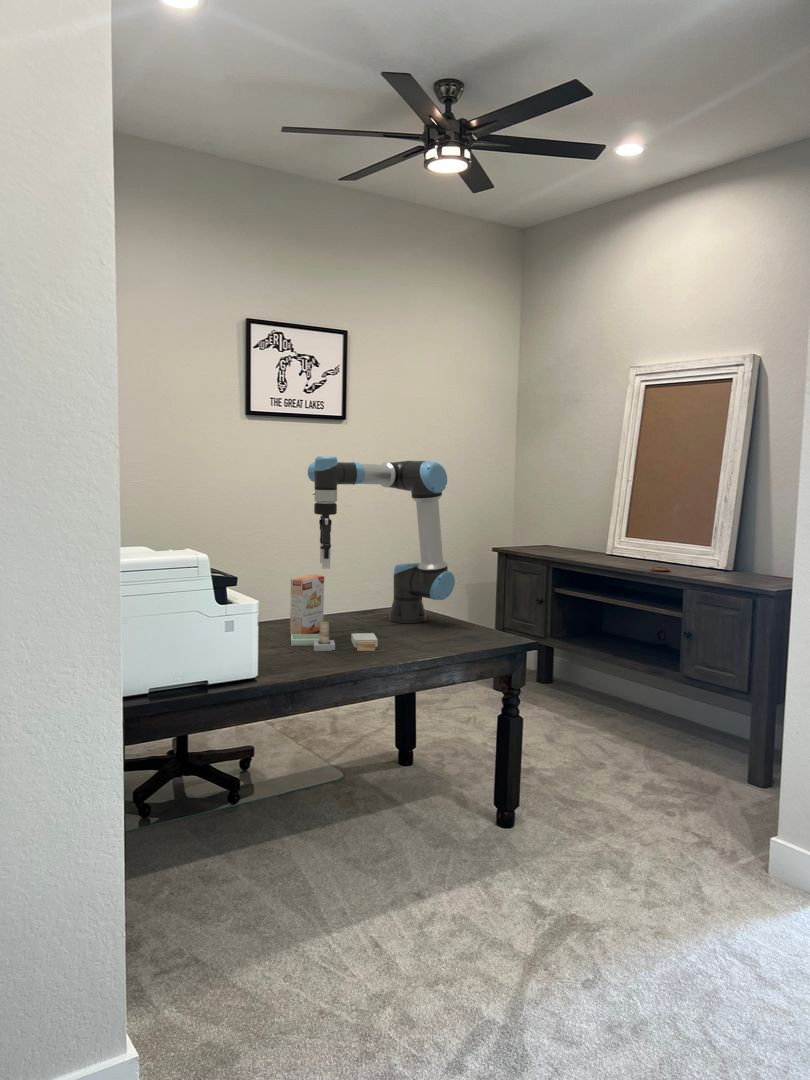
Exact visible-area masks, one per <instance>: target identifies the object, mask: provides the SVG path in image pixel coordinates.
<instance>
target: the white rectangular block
mask: <svg viewBox="0 0 810 1080" xmlns="http://www.w3.org/2000/svg"><path fill="white" fill-rule="evenodd" d="M350 640H351V643H352V645H353V647H354V648H356V641H374V642H375V648H377V647H378V645H379V644H378V642H379V641H378V638H377V636H376V635H375V633H374V632H369V633H368V632H367V633H366V632H363V633H360V632H359V633H351V638H350Z"/></svg>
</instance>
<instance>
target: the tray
mask: <svg viewBox="0 0 810 1080" xmlns="http://www.w3.org/2000/svg"><path fill="white" fill-rule="evenodd" d="M314 640H320V633H311V634H291V635H290V646H291V647H314V646H313V645H314Z"/></svg>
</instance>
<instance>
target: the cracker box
mask: <svg viewBox="0 0 810 1080" xmlns="http://www.w3.org/2000/svg"><path fill="white" fill-rule="evenodd" d="M324 605H325V575H319V574H310V575H305V576H298V577H295V578H291V579H290V610H289V611H290V612H289V615H290V617H289V618H290V619H289V635H290V636H291V634H315V633H316V632H317V633H318V632H320V622H324V608H325V607H324Z"/></svg>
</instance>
